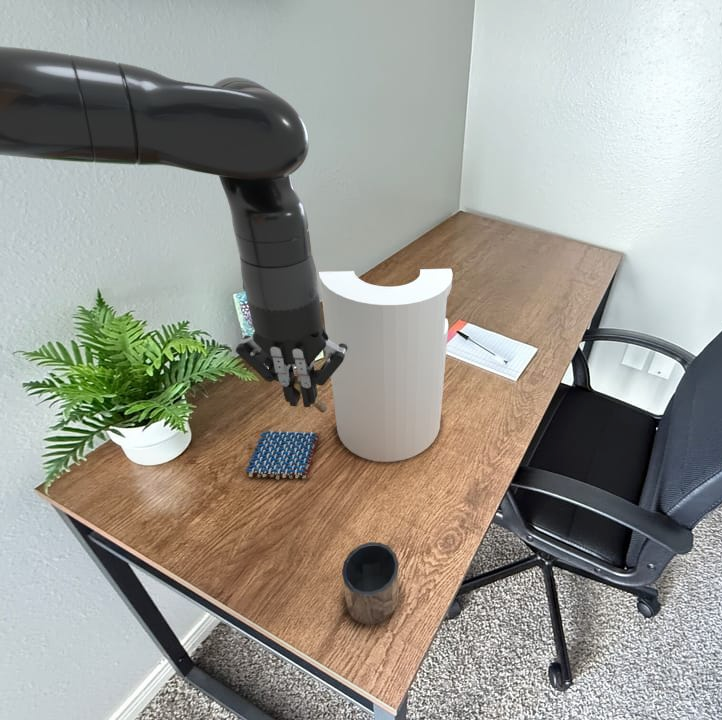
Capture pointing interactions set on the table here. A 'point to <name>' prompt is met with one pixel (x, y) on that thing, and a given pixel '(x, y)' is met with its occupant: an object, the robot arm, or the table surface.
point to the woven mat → (283, 454)
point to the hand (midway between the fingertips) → (302, 402)
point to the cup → (371, 582)
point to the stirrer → (317, 403)
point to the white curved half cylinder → (388, 361)
